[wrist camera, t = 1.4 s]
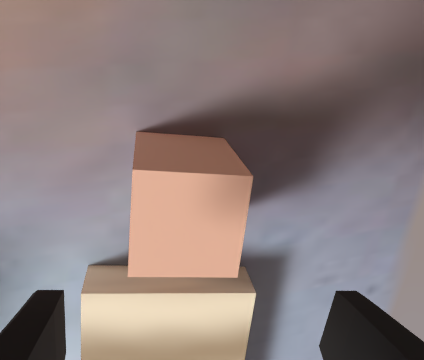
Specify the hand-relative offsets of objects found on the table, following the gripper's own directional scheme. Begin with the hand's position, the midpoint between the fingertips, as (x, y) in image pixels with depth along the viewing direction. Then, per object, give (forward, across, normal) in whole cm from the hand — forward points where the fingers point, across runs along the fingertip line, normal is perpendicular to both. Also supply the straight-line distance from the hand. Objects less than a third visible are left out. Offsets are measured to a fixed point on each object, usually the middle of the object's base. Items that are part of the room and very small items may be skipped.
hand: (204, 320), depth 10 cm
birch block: (+11, 0, +11) cm, 15 cm away
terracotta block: (+11, 0, +1) cm, 11 cm away
